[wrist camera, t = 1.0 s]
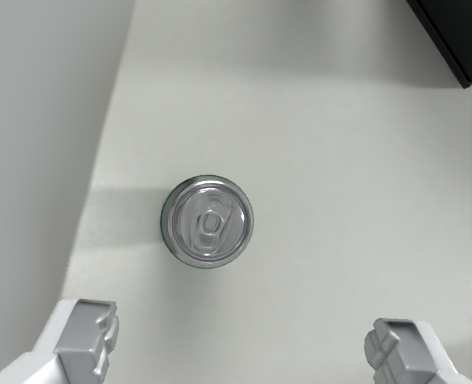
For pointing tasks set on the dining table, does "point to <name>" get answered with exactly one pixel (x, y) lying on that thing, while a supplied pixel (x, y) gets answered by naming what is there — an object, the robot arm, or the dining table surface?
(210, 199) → the soda can
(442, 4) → the toaster
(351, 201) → the dining table surface
